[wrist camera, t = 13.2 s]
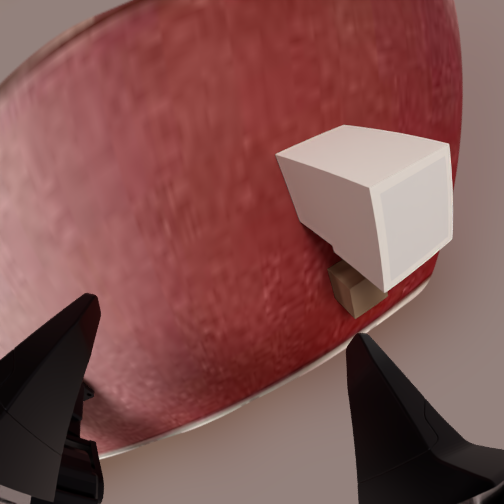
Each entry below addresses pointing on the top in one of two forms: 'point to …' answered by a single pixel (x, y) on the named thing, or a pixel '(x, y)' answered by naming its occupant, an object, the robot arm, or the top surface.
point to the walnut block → (353, 289)
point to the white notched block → (373, 197)
